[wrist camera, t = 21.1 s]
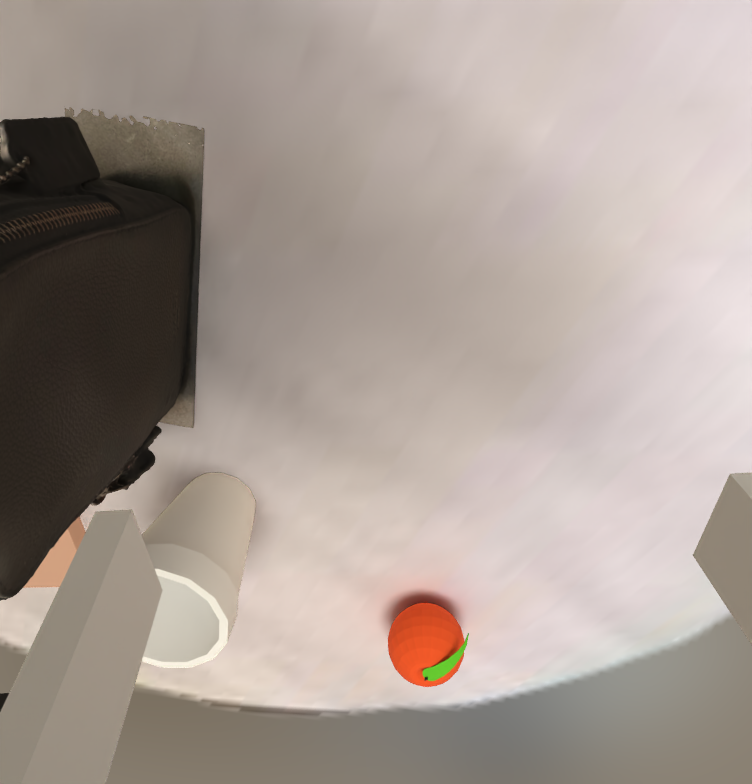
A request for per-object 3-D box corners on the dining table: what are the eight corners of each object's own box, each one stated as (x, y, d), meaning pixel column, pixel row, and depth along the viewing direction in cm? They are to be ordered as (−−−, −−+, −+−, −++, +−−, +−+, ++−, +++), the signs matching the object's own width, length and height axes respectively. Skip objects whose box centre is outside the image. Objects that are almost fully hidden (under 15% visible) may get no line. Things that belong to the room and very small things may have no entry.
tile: (39, 460, 46) (-72, 465, 47) (91, 586, 52) (-8, 588, 53) (55, 445, 48) (-51, 450, 49) (103, 568, 54) (8, 570, 55)
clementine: (442, 570, 51) (446, 635, 45) (485, 615, 53) (494, 683, 47) (374, 606, 54) (369, 672, 47) (418, 648, 56) (418, 716, 49)
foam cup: (286, 480, 48) (244, 597, 36) (257, 556, 52) (211, 683, 40) (179, 442, 47) (101, 550, 35) (158, 522, 51) (81, 642, 39)
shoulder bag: (64, 100, 36) (-757, 61, 11) (204, 128, 36) (-284, 153, 11) (84, 405, 46) (-316, 753, 21) (194, 426, 46) (-72, 795, 21)
